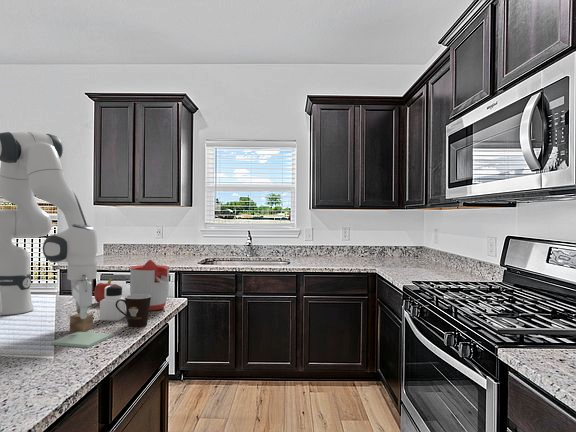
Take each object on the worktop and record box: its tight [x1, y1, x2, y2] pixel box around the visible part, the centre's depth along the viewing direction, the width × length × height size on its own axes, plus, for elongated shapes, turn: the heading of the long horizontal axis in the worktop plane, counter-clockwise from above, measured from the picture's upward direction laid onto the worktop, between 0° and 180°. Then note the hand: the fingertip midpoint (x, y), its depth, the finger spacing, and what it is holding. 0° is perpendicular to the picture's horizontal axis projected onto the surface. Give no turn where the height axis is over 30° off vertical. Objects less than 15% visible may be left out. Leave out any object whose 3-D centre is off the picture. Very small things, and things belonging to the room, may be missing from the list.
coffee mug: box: [116, 294, 151, 328], centre depth 158 cm, size 12×9×10 cm
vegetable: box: [93, 278, 120, 304], centre depth 193 cm, size 11×10×10 cm
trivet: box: [51, 331, 112, 349], centre depth 138 cm, size 12×12×1 cm
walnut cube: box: [69, 313, 94, 333], centre depth 150 cm, size 5×5×5 cm
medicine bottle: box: [99, 284, 126, 322], centre depth 166 cm, size 7×7×12 cm
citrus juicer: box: [129, 259, 171, 312], centre depth 184 cm, size 16×17×20 cm
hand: (81, 315), depth 149 cm, fingers open, 8 cm apart
